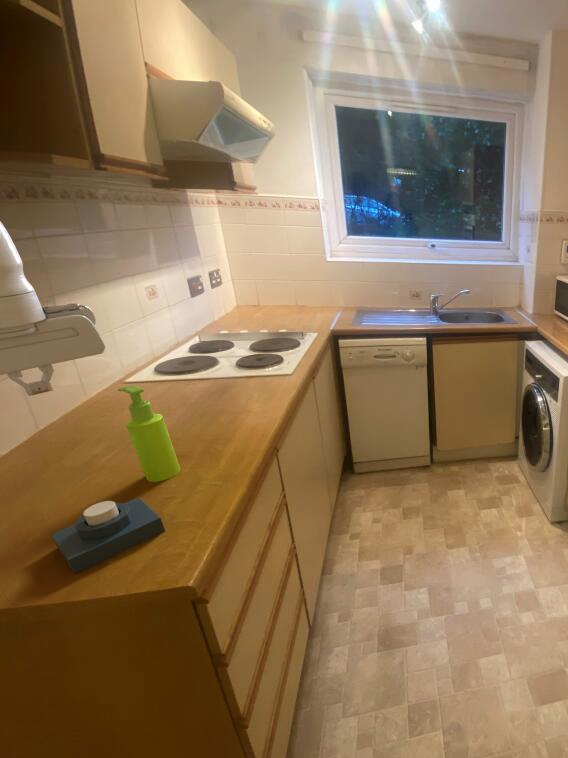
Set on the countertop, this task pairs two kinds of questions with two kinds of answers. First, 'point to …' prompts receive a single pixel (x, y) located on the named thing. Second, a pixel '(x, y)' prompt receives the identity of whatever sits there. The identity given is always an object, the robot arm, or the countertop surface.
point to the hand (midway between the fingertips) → (40, 392)
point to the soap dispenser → (150, 438)
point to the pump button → (101, 513)
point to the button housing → (107, 535)
